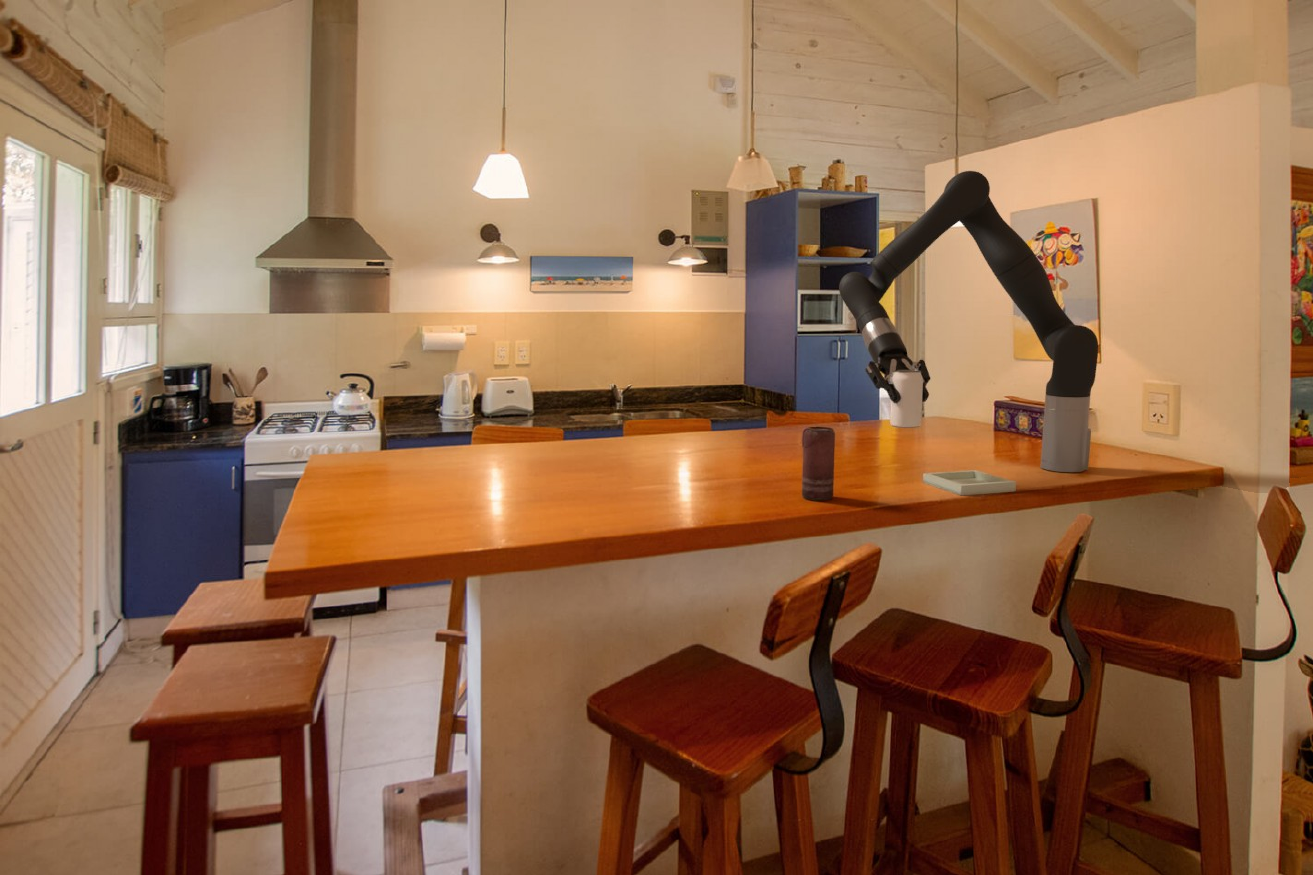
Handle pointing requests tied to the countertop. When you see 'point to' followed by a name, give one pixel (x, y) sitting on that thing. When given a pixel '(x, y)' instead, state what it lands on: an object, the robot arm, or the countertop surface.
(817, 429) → the can
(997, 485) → the tray
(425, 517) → the countertop surface
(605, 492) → the countertop surface
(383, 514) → the countertop surface
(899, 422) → the can
